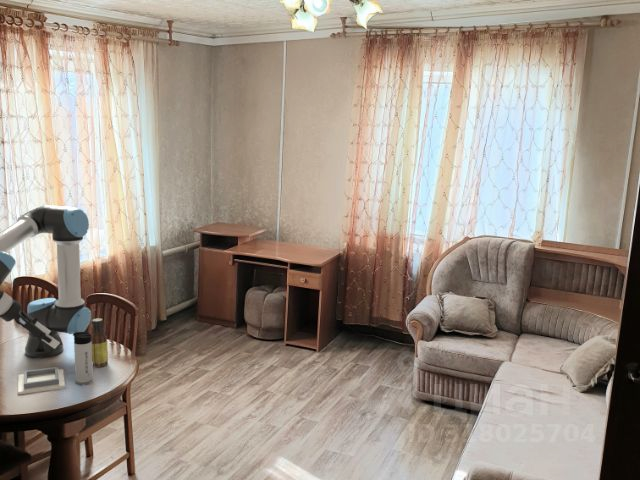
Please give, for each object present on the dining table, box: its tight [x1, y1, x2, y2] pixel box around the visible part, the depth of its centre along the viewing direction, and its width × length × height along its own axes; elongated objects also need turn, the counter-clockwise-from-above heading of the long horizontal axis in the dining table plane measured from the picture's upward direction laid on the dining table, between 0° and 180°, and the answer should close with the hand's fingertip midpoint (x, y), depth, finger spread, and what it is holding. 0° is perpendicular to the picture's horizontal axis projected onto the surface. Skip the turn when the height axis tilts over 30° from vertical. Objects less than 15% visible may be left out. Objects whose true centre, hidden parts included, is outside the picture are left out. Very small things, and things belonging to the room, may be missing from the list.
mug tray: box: [17, 366, 66, 396], centre depth 231 cm, size 16×16×3 cm
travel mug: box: [72, 331, 94, 386], centre depth 232 cm, size 6×7×20 cm
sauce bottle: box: [90, 317, 109, 368], centre depth 247 cm, size 7×6×20 cm
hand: (52, 339), depth 223 cm, fingers open, 13 cm apart
